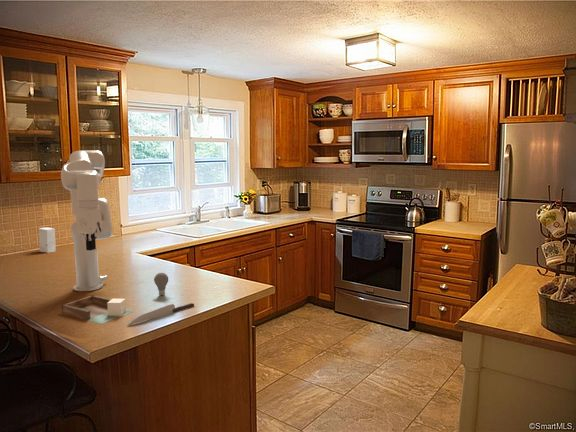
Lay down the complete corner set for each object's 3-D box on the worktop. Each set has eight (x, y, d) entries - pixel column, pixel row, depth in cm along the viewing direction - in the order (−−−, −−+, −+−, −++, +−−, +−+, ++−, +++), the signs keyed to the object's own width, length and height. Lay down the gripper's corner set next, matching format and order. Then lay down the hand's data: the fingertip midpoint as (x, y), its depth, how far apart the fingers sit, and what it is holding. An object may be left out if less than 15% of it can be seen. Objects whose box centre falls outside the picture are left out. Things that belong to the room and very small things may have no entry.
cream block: (113, 310, 183) (112, 298, 182) (126, 311, 183) (125, 298, 182) (108, 315, 178) (107, 302, 177) (121, 315, 178) (120, 302, 177)
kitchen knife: (192, 298, 192) (124, 316, 169) (193, 298, 191) (125, 316, 168) (192, 308, 192) (124, 327, 170) (194, 308, 191) (126, 328, 169)
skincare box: (39, 251, 295) (37, 228, 293) (48, 250, 301) (46, 226, 299) (48, 253, 292) (46, 229, 289) (56, 251, 297) (55, 227, 295)
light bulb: (170, 293, 209) (169, 271, 208) (167, 297, 203) (166, 274, 202) (156, 293, 209) (155, 271, 207) (153, 297, 203) (152, 274, 201)
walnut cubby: (95, 304, 195) (94, 294, 194) (135, 313, 183) (134, 303, 183) (60, 315, 181) (59, 305, 180) (100, 326, 169) (100, 316, 169)
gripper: (67, 203, 185) (70, 249, 189) (92, 207, 178) (95, 254, 181) (84, 201, 192) (86, 245, 195) (109, 204, 184) (111, 250, 188)
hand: (91, 249), depth 188 cm, fingers closed
